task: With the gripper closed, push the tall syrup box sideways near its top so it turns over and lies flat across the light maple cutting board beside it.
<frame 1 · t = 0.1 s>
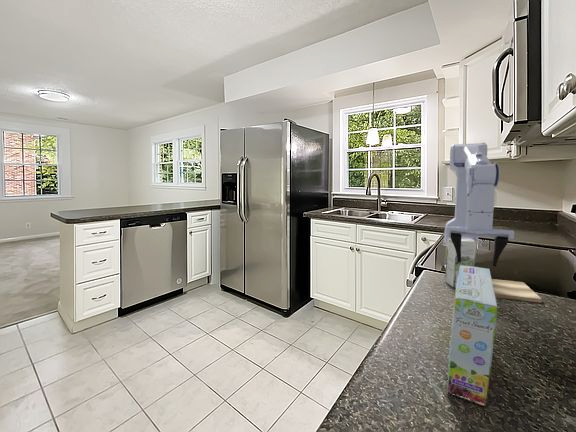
hand: (476, 263, 76), 10 cm above the worktop, tool pointing down, fingers open, 7 cm apart
syrup box: (458, 285, 89), on the worktop
cutting board: (501, 290, 85), on the worktop
snack box: (468, 365, 51), on the worktop
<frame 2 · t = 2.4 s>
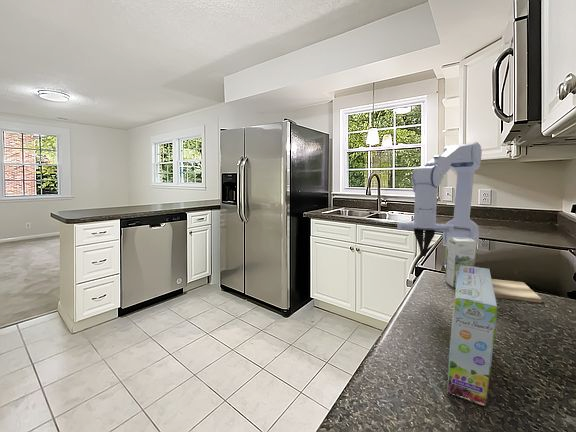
hand: (423, 255, 85), 10 cm above the worktop, tool pointing down, fingers closed
nothing on the worktop moved.
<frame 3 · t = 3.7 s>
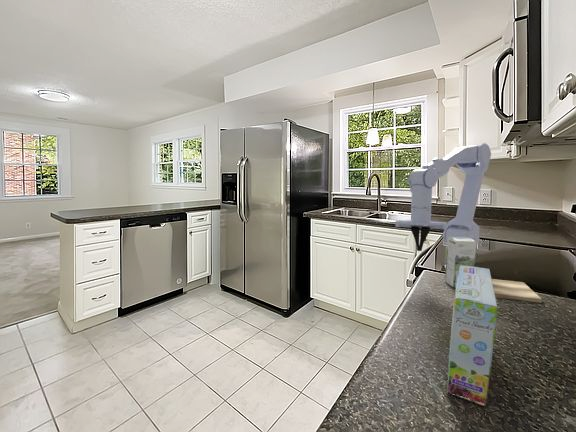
hand: (419, 250, 92), 10 cm above the worktop, tool pointing down, fingers closed
nothing on the worktop moved.
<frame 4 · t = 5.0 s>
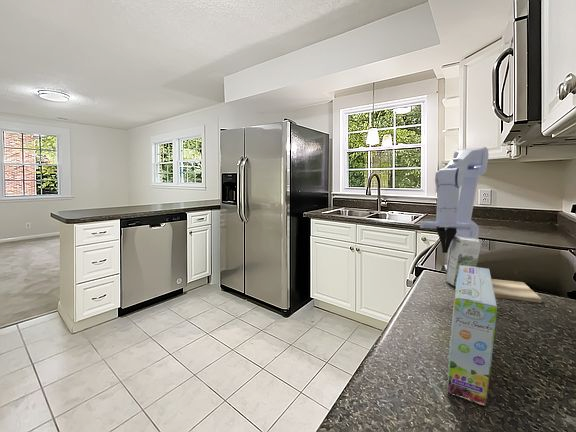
hand: (444, 252, 90), 10 cm above the worktop, tool pointing down, fingers closed
syrup box: (458, 284, 89), on the worktop, touching gripper
everything else where it was.
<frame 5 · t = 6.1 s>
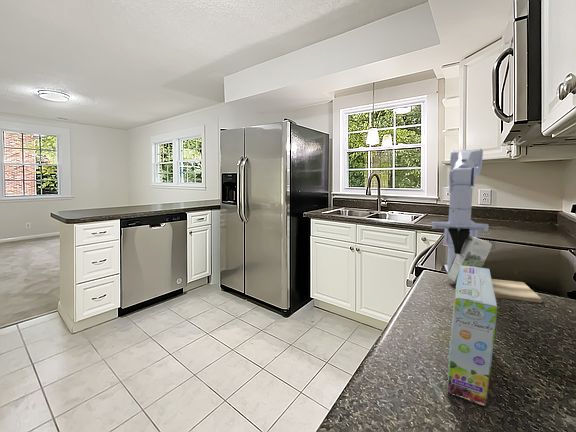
hand: (457, 253, 88), 10 cm above the worktop, tool pointing down, fingers closed
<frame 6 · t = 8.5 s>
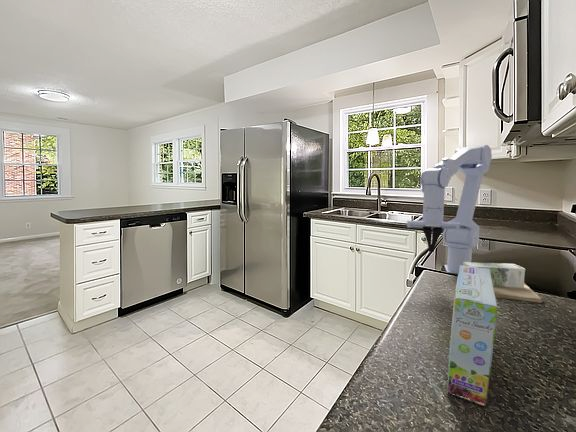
hand: (431, 251, 91), 10 cm above the worktop, tool pointing down, fingers closed
syrup box: (465, 272, 89), point 4 cm above the worktop, touching cutting board
everything else where it was.
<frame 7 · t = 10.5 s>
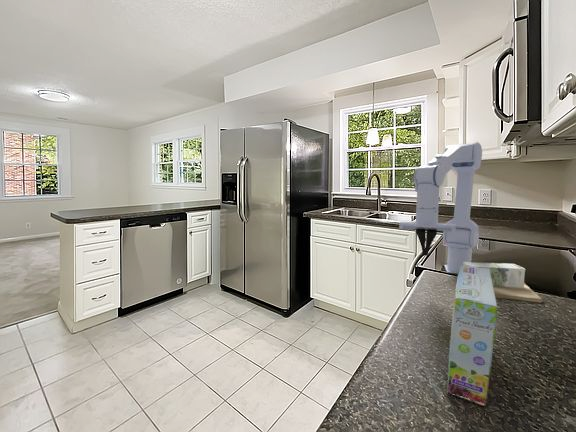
hand: (425, 254, 85), 10 cm above the worktop, tool pointing down, fingers closed
nothing on the worktop moved.
at the end: syrup box tilted 90°; syrup box inside the target area (2.3 cm from its centre), point 3.8 cm above the worktop; syrup box touching cutting board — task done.
